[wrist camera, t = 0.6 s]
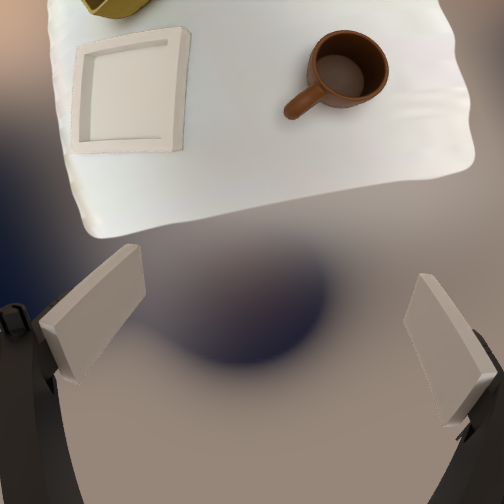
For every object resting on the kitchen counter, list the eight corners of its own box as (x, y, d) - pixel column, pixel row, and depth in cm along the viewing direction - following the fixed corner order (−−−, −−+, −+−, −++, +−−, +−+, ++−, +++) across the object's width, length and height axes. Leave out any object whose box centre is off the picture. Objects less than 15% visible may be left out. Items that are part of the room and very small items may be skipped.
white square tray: (91, 49, 32) (77, 46, 28) (191, 33, 30) (181, 26, 27) (85, 151, 38) (71, 154, 35) (182, 149, 37) (172, 152, 33)
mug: (307, 143, 34) (312, 147, 26) (265, 97, 33) (256, 86, 24) (379, 86, 30) (405, 75, 22) (338, 40, 29) (352, 15, 20)
